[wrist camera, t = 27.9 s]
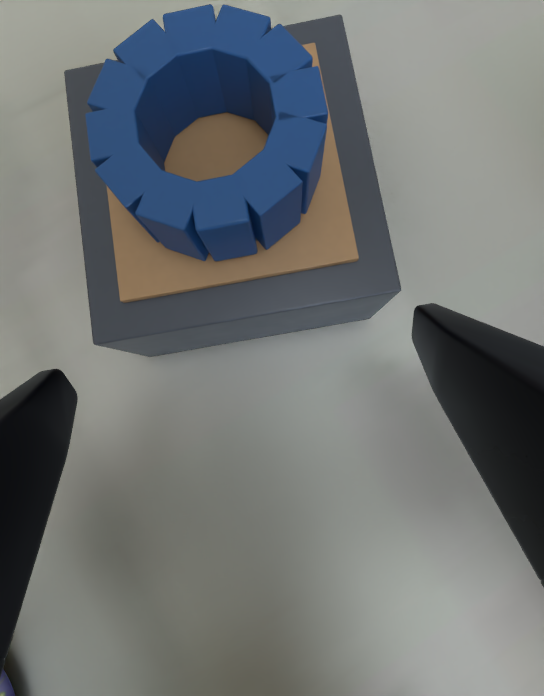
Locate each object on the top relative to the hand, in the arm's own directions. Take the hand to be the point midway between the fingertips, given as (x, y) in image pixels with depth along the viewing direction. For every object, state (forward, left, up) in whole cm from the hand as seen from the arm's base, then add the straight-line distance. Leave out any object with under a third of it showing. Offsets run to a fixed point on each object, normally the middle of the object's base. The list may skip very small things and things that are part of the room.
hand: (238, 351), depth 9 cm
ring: (+7, +1, -3) cm, 8 cm away
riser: (+7, +1, -8) cm, 11 cm away
